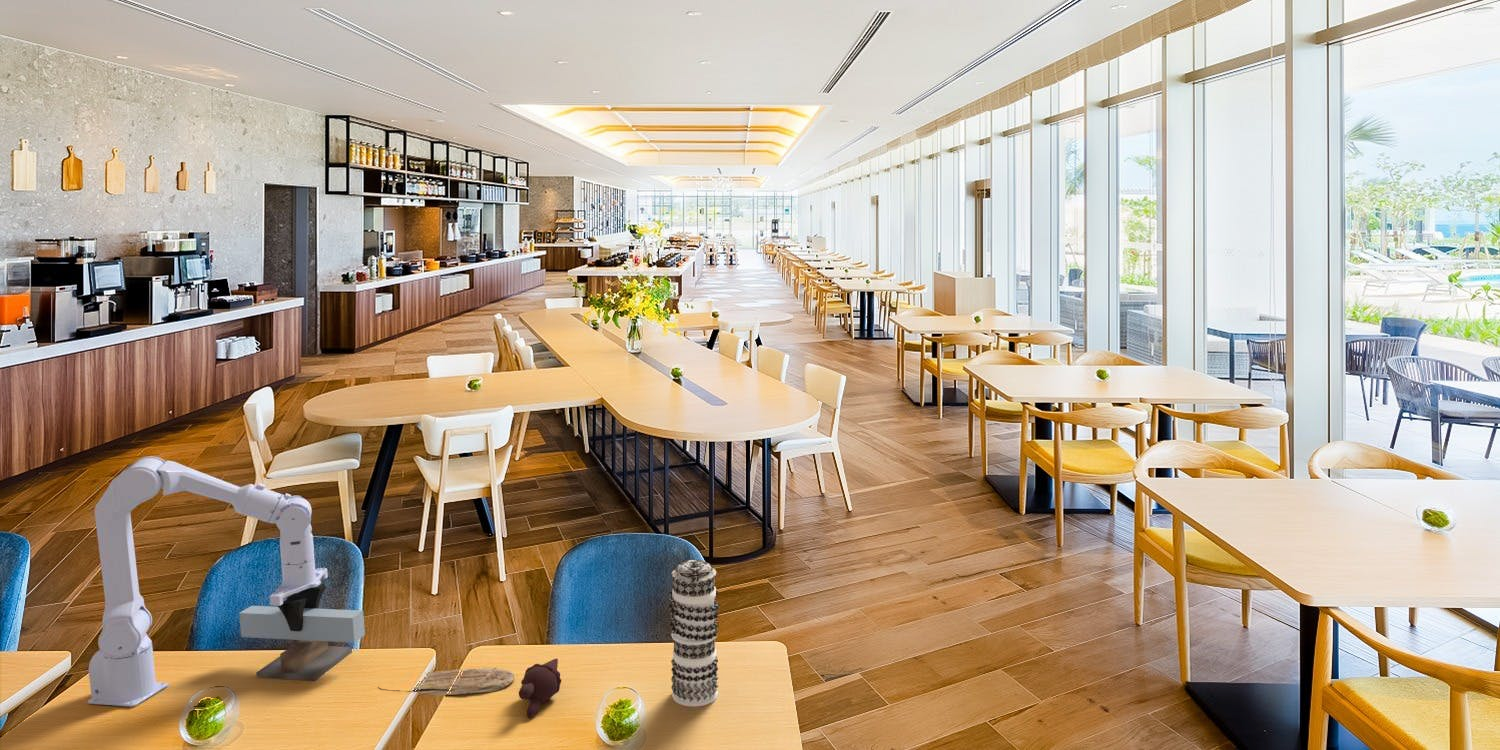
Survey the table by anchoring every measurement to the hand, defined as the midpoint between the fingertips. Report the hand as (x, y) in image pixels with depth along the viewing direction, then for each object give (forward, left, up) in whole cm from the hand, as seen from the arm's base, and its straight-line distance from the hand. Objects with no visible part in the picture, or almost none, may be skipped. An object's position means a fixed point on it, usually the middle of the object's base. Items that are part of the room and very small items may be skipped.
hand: (303, 626), depth 164 cm
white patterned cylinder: (+79, -2, -8) cm, 79 cm away
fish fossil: (+31, -3, -9) cm, 32 cm away
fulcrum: (0, 0, -8) cm, 8 cm away
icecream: (+51, -7, -8) cm, 53 cm away
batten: (0, 0, -2) cm, 2 cm away
